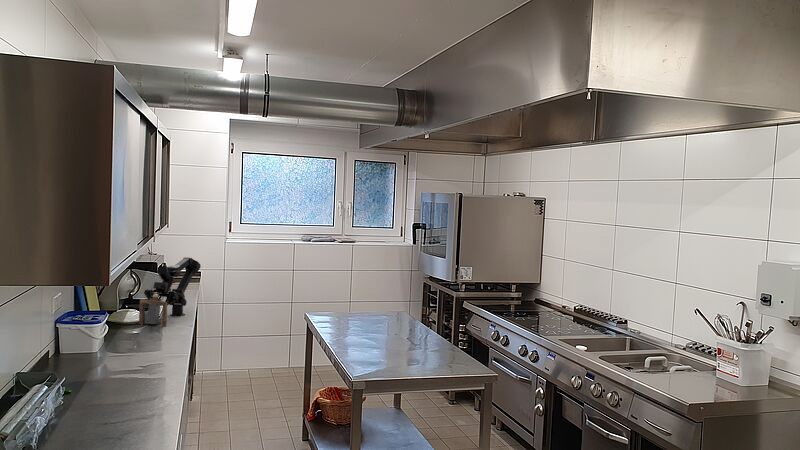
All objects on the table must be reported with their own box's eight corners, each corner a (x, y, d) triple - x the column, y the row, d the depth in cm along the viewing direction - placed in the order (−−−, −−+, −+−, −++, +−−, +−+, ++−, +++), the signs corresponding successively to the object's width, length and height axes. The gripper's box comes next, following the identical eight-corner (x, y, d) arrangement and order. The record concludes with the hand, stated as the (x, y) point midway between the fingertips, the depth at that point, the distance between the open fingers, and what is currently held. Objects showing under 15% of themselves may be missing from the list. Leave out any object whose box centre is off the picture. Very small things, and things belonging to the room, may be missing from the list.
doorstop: (150, 322, 339) (153, 293, 341) (160, 323, 338) (163, 293, 340) (144, 323, 333) (148, 292, 335) (154, 324, 333) (158, 293, 334)
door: (144, 322, 337) (144, 312, 337) (142, 322, 338) (142, 312, 337) (157, 318, 349) (158, 308, 349) (156, 318, 349) (156, 308, 349)
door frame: (141, 323, 337) (142, 299, 336) (166, 326, 333) (167, 301, 333) (139, 324, 335) (139, 299, 334) (164, 326, 331) (165, 302, 331)
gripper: (146, 275, 344) (134, 297, 333) (176, 277, 341) (165, 300, 331) (153, 287, 352) (142, 309, 342) (183, 289, 349) (172, 311, 339)
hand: (155, 307), depth 338 cm, fingers open, 9 cm apart
